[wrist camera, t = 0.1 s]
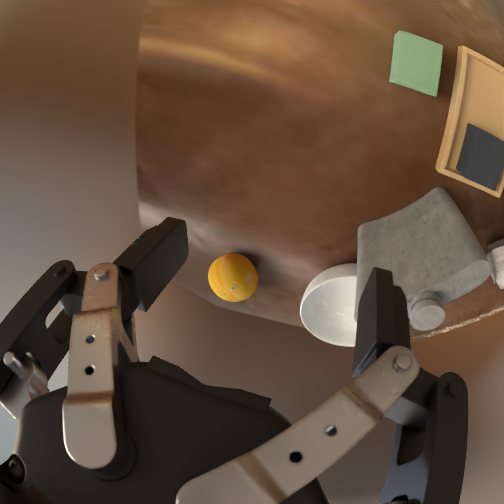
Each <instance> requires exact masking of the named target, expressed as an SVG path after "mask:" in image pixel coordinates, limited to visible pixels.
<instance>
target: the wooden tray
mask: <svg viewBox="0 0 504 504" xmlns="http://www.w3.org/2000/svg"><path fill="white" fill-rule="evenodd" d="M468 123H470V124H472V125H474V126H476V127H478V128H480V129H482V130H484V131H486V132H488V133H490V134H492V135H493V136H495V137H497V138H499V139H501V140H502V141H504V67H502V66H500V65H499V64H497V63H495V62H494V61H492V60H490V59H488V58H487V57H485V56H483V55H481V54H479V53H477V52H475V51H473V50H471V49H469V48H467V47H465V46H458V52H457V62H456V71H455V78H454V85H453V92H452V98H451V103H450V108H449V113H448V118H447V123H446V127H445V132H444V136H443V140H442V144H441V148H440V152H439V155H438V159H437V162H436V166H435V169H436V170H437V171H438V172H439V173H441V174H444V175H446V176H449V177H451V178H454V179H457V180H459V181H462V182H464V183H466V184H469V185H471V186H474V187H476V188H478V189H480V190H483V191H485V192H487V193H489V194H491V195H494V196H496V197H498V198H500V195H501V193H502V190H503V187H504V166H503V170H502V173H501V176H500V179H499V182H498V184H497V187H496V190H495V191H493V190H491V189H488V188H486V187H484V186H482V185H480V184H477V183H475V182H473V181H471V180H468V179H466V178H465V177H464V176H463V175H462V174H461V173H460V172H459V171H458V170H457V169H456V166H457V163H458V159H459V156H460V152H461V148H462V145H463V141H464V137H465V133H466V129H467V124H468Z"/></svg>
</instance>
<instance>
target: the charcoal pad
mask: <svg viewBox="0 0 504 504" xmlns="http://www.w3.org/2000/svg"><path fill="white" fill-rule="evenodd" d="M503 166H504V141H502V140H501V139H499V138H497V137H495V136H493V135H492V134H490V133H488V132H486V131H484V130H482V129H480V128H478V127H476V126H474V125H472V124H470V123H468V124H467V129H466V133H465V137H464V141H463V145H462V148H461V152H460V156H459V159H458V163H457V166H456V169H457V170H458V171H459V172H460V173H461V174H462V175H463V176H464V177H465V178H466V179H468V180H471V181H473V182H475V183H477V184H480V185H482V186H484V187H486V188H488V189H491V190H493V191H495V190H496V187H497V184H498V182H499V179H500V176H501V173H502V170H503Z"/></svg>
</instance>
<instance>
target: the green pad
mask: <svg viewBox="0 0 504 504" xmlns="http://www.w3.org/2000/svg"><path fill="white" fill-rule="evenodd" d="M442 52H443V45H441V44H438V43H436V42H433V41H431V40H428V39H425V38H423V37H420V36H417V35H414V34H411V33H408V32H405V31H402V30H400V31H398V32H397V33H396V34H395V36H394V47H393V56H392V65H391V73H390V80H389V82H391V83H395V84H398V85H401V86H404V87H408V88H411V89H414V90H417V91H419V92H422V93H425V94H428V95H432V96H437V91H438V85H439V78H440V70H441V62H442Z"/></svg>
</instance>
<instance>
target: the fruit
mask: <svg viewBox="0 0 504 504" xmlns="http://www.w3.org/2000/svg"><path fill="white" fill-rule="evenodd" d="M208 278H209V283H210V286H211V288H212V289H213V291H214V292H215V293H216V294H217V295H218V296H219V297H220V298H222V299H224V300H227V301H232V302H237V301H241V300H244V299H247V298H248V297H250V296H251V295H252V294H253V293H254V291H255V289H256V287H257V284H258V275H257V272H256V269H255V267H254V266H253V264H252V263H251V262H250V261H249V260H248V259H247V258H246V257H245V256H243V255H241V254H237V253H228V254H225V255H223V256H221V257H220V258H218V259H216V260H215V261H214V262H213V263H212V265H211V267H210V269H209V274H208Z"/></svg>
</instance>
